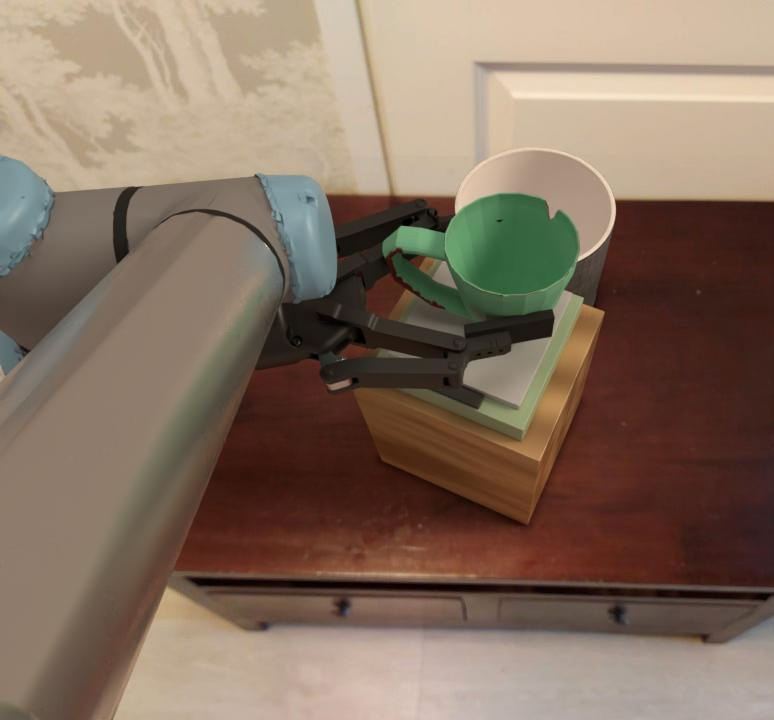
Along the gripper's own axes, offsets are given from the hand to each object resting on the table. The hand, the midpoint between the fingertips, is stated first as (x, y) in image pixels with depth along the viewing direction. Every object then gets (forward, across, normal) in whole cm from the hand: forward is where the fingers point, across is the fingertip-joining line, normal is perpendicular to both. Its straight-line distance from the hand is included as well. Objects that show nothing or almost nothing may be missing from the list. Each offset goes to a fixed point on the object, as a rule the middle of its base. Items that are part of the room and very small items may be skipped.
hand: (536, 271), depth 50 cm
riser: (-5, 0, -30) cm, 30 cm away
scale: (-5, 0, -10) cm, 11 cm away
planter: (+5, -19, -30) cm, 36 cm away
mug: (-4, 0, -6) cm, 8 cm away
